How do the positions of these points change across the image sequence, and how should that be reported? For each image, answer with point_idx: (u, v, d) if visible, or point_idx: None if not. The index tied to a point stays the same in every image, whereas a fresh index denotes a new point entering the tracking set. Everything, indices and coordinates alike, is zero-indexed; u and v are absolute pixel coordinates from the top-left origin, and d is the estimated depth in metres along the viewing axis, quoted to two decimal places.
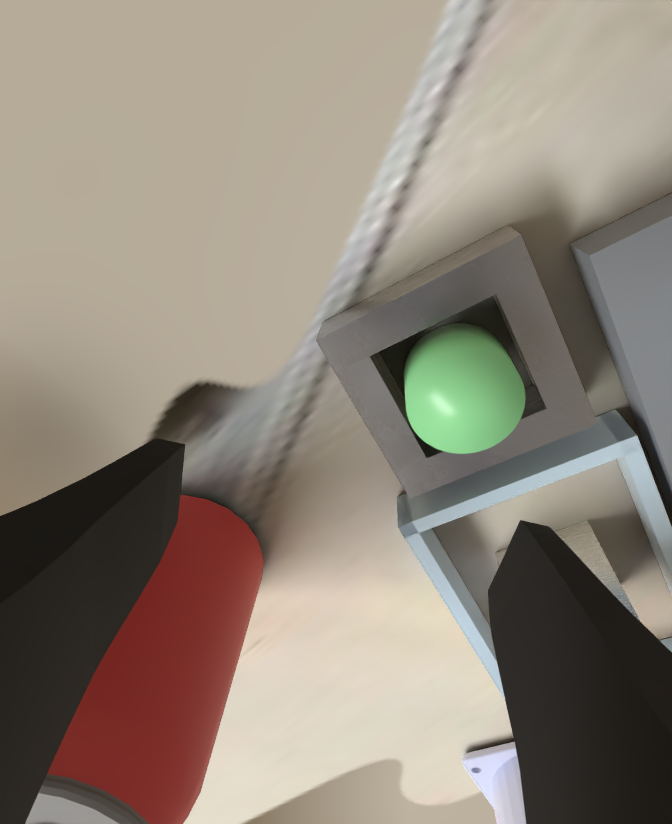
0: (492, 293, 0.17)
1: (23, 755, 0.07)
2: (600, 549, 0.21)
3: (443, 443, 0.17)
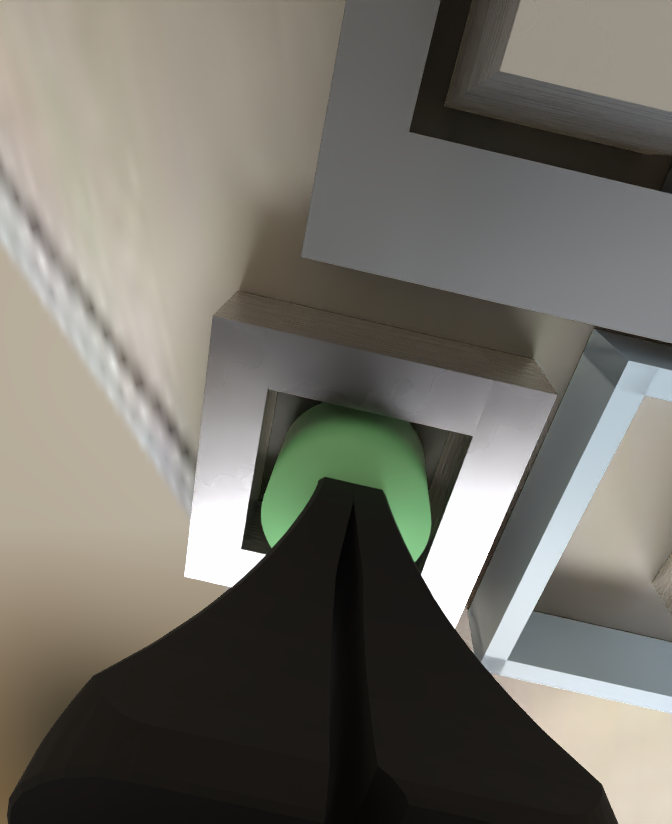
0: (263, 392, 0.11)
1: None
2: None
3: None
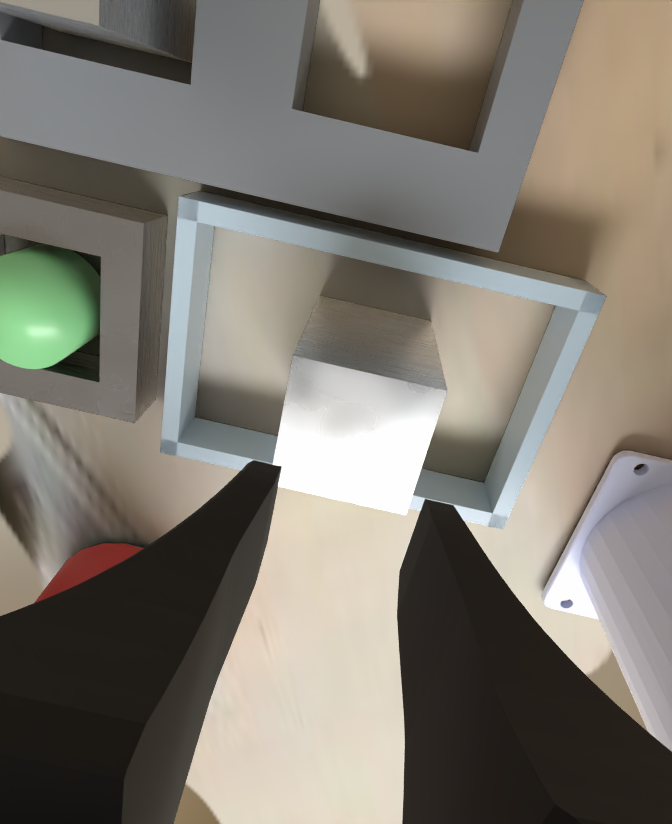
0: None
1: (174, 787, 0.07)
2: None
3: (50, 356, 0.18)
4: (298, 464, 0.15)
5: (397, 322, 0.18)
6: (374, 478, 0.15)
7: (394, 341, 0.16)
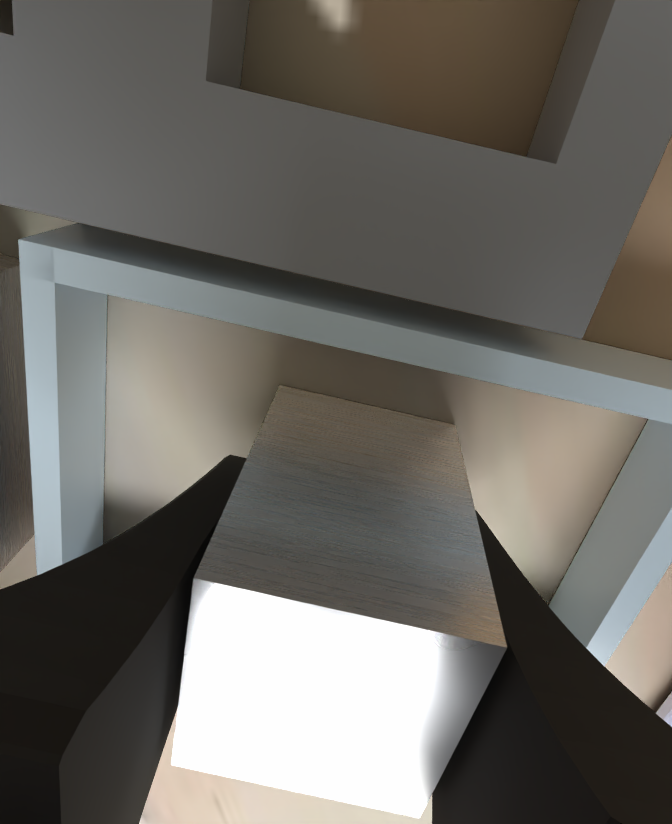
0: None
1: (138, 779, 0.07)
2: (262, 424, 0.11)
3: None
4: (221, 741, 0.08)
5: (402, 437, 0.11)
6: (362, 767, 0.08)
7: (397, 491, 0.09)
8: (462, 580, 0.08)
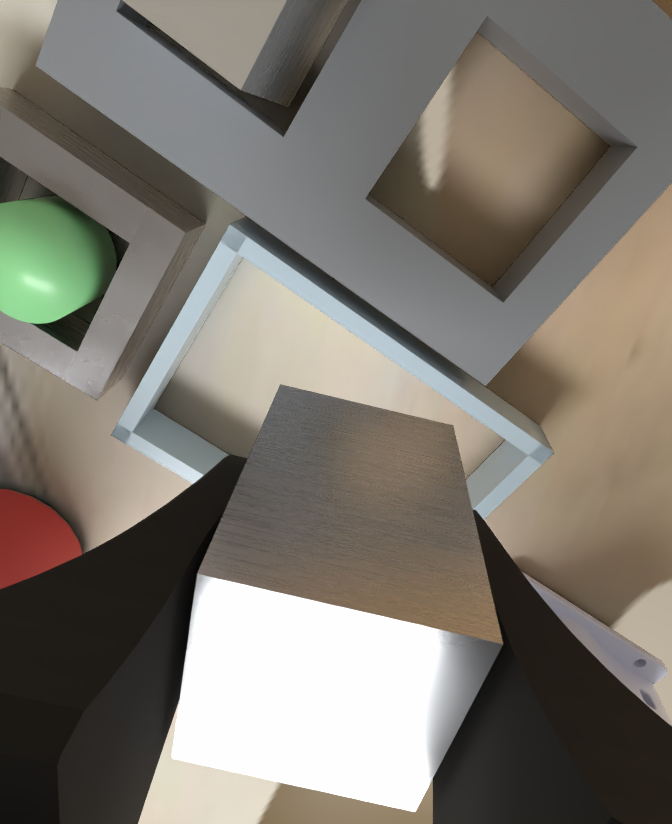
0: None
1: (137, 779, 0.07)
2: (263, 424, 0.11)
3: (40, 315, 0.17)
4: (221, 735, 0.08)
5: (401, 437, 0.11)
6: (359, 761, 0.08)
7: (397, 491, 0.10)
8: (459, 578, 0.08)
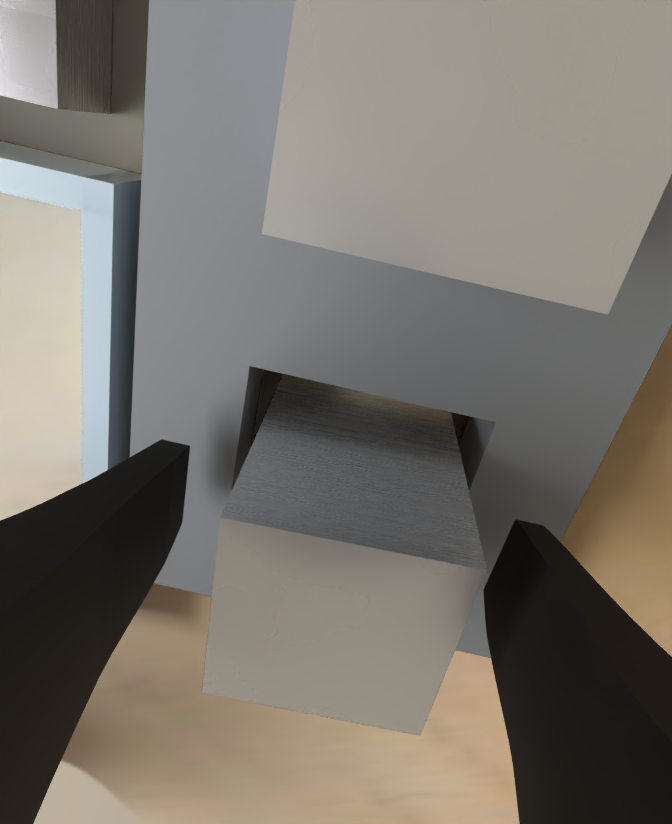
0: None
1: (31, 757, 0.07)
2: (272, 399, 0.12)
3: None
4: (245, 668, 0.09)
5: (399, 408, 0.12)
6: (368, 688, 0.09)
7: (394, 452, 0.11)
8: (450, 520, 0.09)
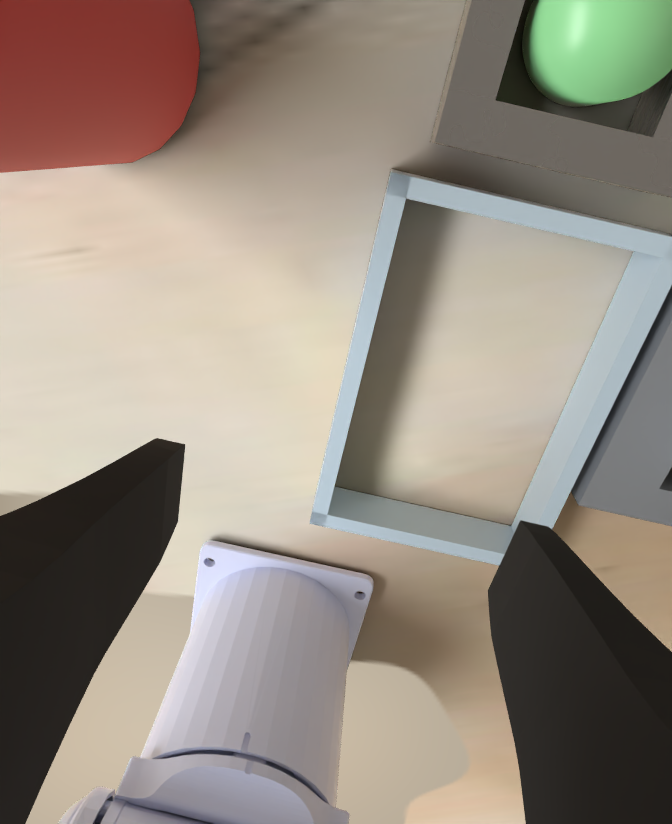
0: None
1: (23, 755, 0.07)
2: None
3: (559, 52, 0.13)
4: None
5: None
6: None
7: None
8: None
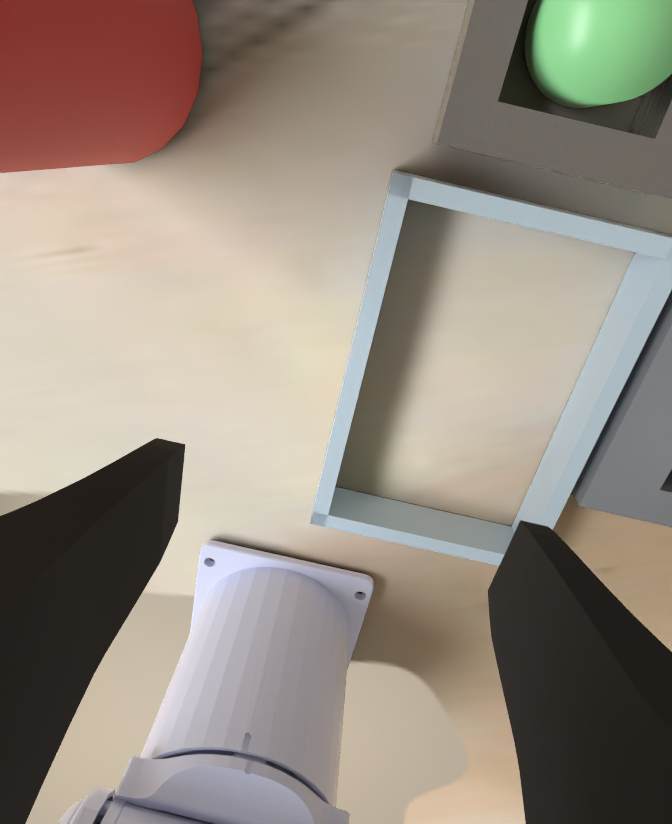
0: None
1: (23, 755, 0.07)
2: None
3: (561, 53, 0.13)
4: None
5: None
6: None
7: None
8: None
